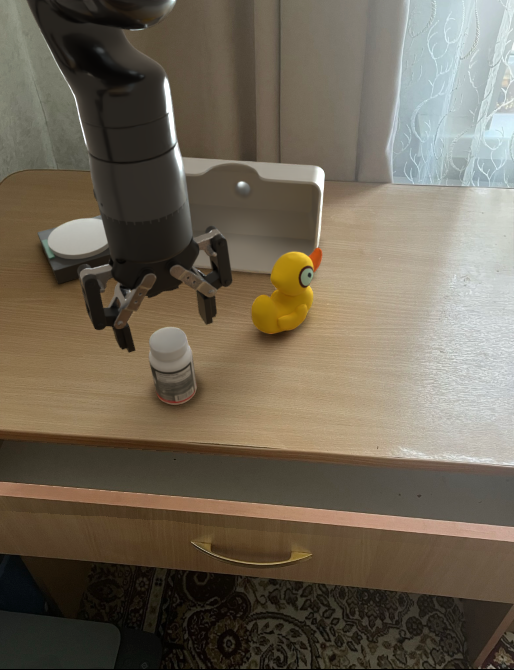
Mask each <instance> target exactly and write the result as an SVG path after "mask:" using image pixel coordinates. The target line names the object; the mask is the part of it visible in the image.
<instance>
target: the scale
mask: <svg viewBox="0 0 514 670" xmlns="http://www.w3.org/2000/svg"><path fill="white" fill-rule="evenodd" d="M36 233H37V237H38V239H39V242H40V245H41V247H42V250H43V252H44V254H45V257H46V259H47V261H48V264H49V266H50V268H51V271H52V273H53V275H54V278H55V280H56V283H57V284H58V285H60V284H64V283H66V282H67V283H68V282H70V281H74V280H77V279H79V275H78V271H77V269H78V267H79V266H80V265H82V264H88V265H89V266H90V267H91V269H92V268H96V267H100V266H104V265H107V264H108V262H109V260H110V249H109V245H108V242H107V238H106V234H105V230H104V226H103V222H102V218H101V214H100V215H96V216H93V217H86V218H85V217H84V218H77V219H73V220H70V221H67V222H65V223H62V224H60V225H58V226H55V227H52V228H48V229H45V230H41V231H38V232H36Z"/></svg>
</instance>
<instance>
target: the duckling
mask: <svg viewBox="0 0 514 670" xmlns="http://www.w3.org/2000/svg"><path fill="white" fill-rule="evenodd" d="M322 260H323V250H322V249H321V248H320V247H318V248H316V249H315V250H314V251H313V253H312V254H311V255H309V256H307V255H305V254H304V253H301V252H288V253H286V254H284V255H282V256H281V257H280V258H279V259H278V260H277V261H276V263H275V264H274V266H273V269H272V272H271V274H270V277H269V278H270V279H269V280H270V283H271V284H272V286H273V287H274V288H275V289H274V291H272V293H271V294H270V296H269V295H267V294H260V295H258V296H257V297H256V298H255V299H254V300H253V302H252V304H251V307H250V308H251V310H250V314H251V315H250V316H251V321H252V323H253V326H254V327H255V328H256V329H257V330H258V331H260V332H262V333H263V334H269V335H272V334H277V333H281V332H285V331H291V330H292V331H293V330H295V329H296V328H297V327H299V326H300V325H301V324H302V323H303V322H304V321H305V320H306V318H307V316H308V313H309V311H310V309H311V307H312V305H313V302H314V291H313V289H312V288H311V286H310V285H311V283H312V280H313V277H314V274H315V272H317V270H318V269H319V267H320V266H321V263H322Z"/></svg>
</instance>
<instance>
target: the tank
mask: <svg viewBox="0 0 514 670" xmlns="http://www.w3.org/2000/svg"><path fill="white" fill-rule="evenodd" d="M182 159H183V164H184V169H185V177H186V185H187V193H188V201H189V209H190V217H191V224H192V232H193V238H195V237H198V236H201V235H203V234H205V230H206V229H207V228H208V227H209V226H215V227H216V228H217V230H219V232H220V233H221V234H222V235H223V237H224V238H225V239H226V240H227V245H228V252H229V259H230V266H231V272H244V273H255V274H265V275H271V272H272V269H273V266H274V264H275V263H276V261H277V260H278V259H279V258H280V257H281V256H282V255H284V254H286V253H288V252H301V253H304V254H305V255H307V256H309V255H311V254H312V253H313V251H314V250H315V249H316V248H319V244H320V238H321V228H322V227H321V226H322V215H323V201H324V188H325V172H324V170H323V169H322V168H321V167H320V166H318V165H314V164H313V165H312V164H298V163H297V164H295V163H282V162H266V161H251V160H250V161H249V160H235V159H234V160H233V159H232V160H231V159H220V158H219V159H217V158H201V157H187V156H182ZM193 266H194V267H195V268H196V269H198V268H199V269H211V263H210V257H209V256H208V255H207V254H206V253H205V252H204V250H200V251H199V255H198V257H197V259H196V260H195V262H194V264H193ZM211 270H212V269H211Z"/></svg>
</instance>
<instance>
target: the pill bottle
mask: <svg viewBox="0 0 514 670" xmlns="http://www.w3.org/2000/svg"><path fill="white" fill-rule="evenodd" d="M148 345H149V352H148V362H149V368H150V371H151V375H152V379H153V380H152V381H153V384H154V388H155V389H154V390H155V394H156V396H157V397H158V399H159V400H160V401H161V402H163V403H165V404H167V405H172V406H173V405H174V406H178V405H182V404H185V403H187V402H188V401H190V400H191V399H192V398H193V397H194V396H195V394H196V392H197V388H198V383H197V378H196V377H197V376H196V371H195V364H194V356H193V351H192V348H191V346H190V344H189V342H188V337H187V334H186V332H185V331H184V330H183V329H182V328H178V327H175V326H165V327H162V328H159V329H157V330H155V331H154V332H153V333H152V334H151V335H150V337H149V339H148Z"/></svg>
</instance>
